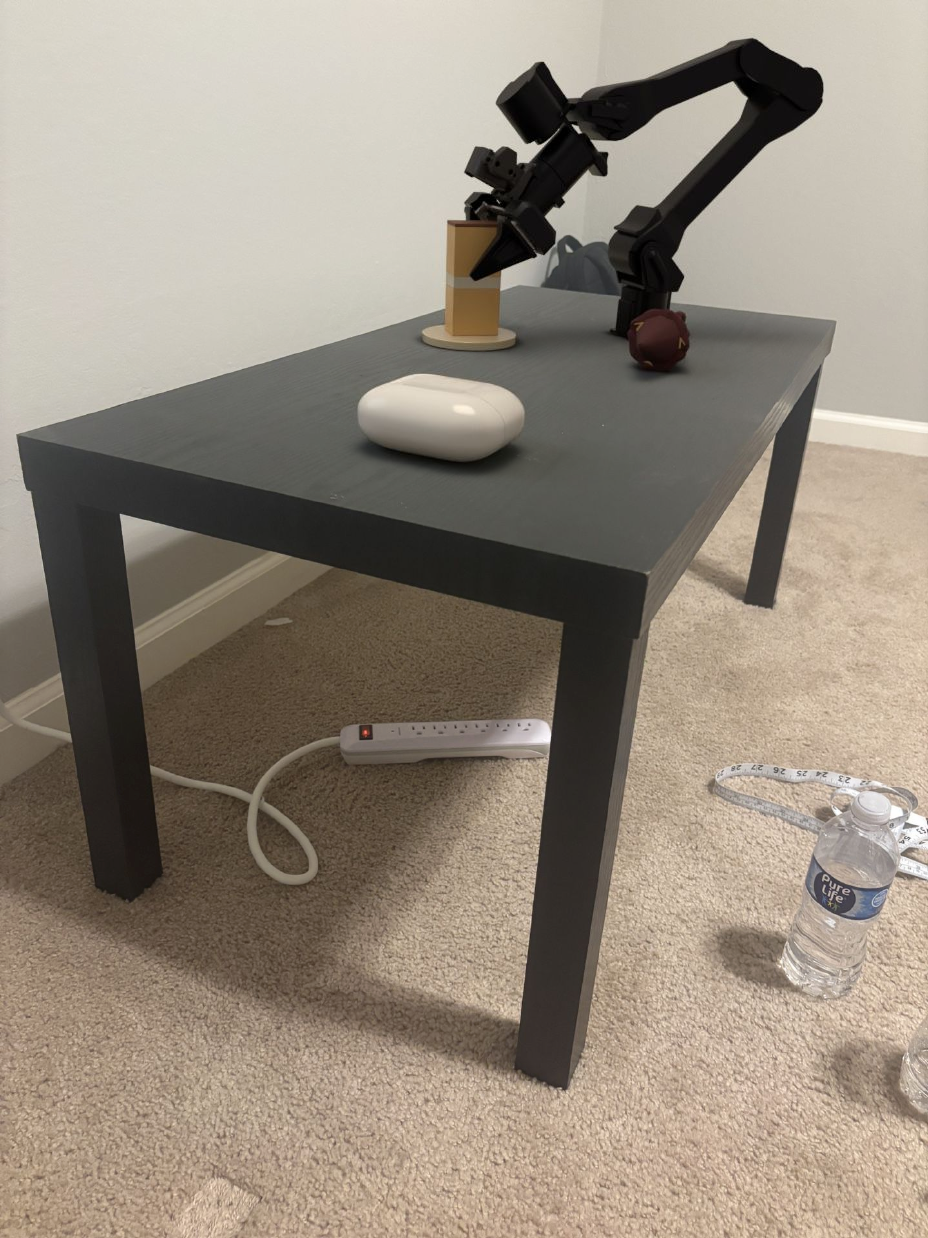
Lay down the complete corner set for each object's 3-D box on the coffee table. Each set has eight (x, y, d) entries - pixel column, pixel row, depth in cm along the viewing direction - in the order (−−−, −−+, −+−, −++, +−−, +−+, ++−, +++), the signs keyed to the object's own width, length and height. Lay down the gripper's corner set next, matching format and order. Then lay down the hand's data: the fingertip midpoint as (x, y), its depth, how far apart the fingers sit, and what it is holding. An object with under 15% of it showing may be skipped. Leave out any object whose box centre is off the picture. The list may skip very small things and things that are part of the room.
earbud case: (405, 421, 83) (405, 361, 80) (535, 445, 78) (540, 382, 75) (342, 450, 75) (339, 384, 72) (482, 478, 70) (485, 409, 67)
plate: (482, 328, 123) (483, 321, 123) (534, 346, 114) (534, 337, 114) (405, 335, 118) (405, 327, 117) (453, 354, 109) (453, 345, 108)
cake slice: (489, 328, 118) (494, 220, 112) (498, 335, 115) (503, 223, 108) (444, 328, 117) (447, 219, 111) (452, 335, 113) (455, 223, 107)
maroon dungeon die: (685, 325, 95) (715, 318, 107) (622, 300, 97) (658, 295, 109) (659, 388, 98) (690, 373, 111) (598, 362, 100) (636, 350, 113)
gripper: (482, 120, 113) (396, 215, 115) (538, 119, 97) (438, 230, 100) (536, 190, 119) (454, 280, 121) (597, 201, 103) (501, 303, 105)
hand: (460, 272), depth 112 cm, fingers open, 9 cm apart
